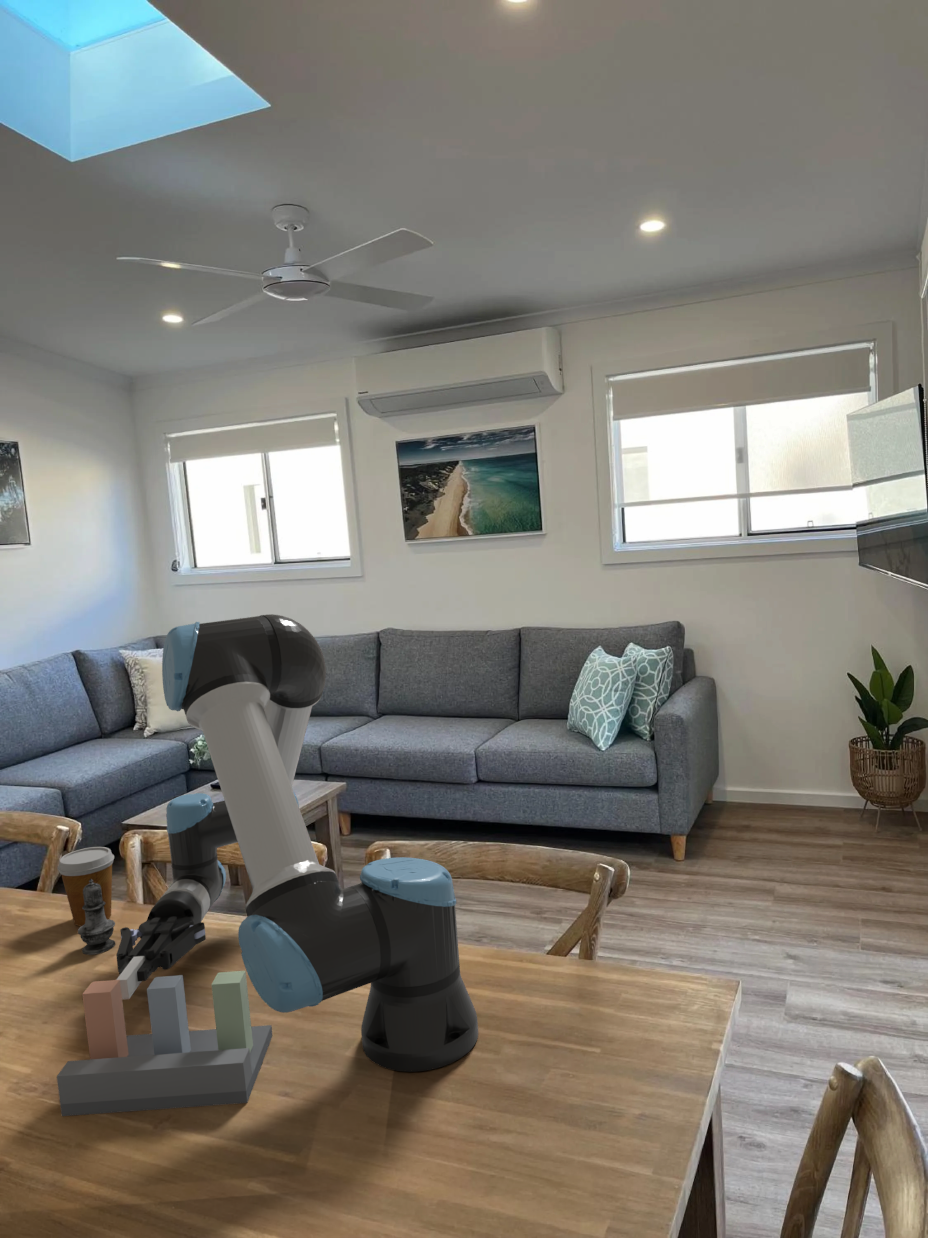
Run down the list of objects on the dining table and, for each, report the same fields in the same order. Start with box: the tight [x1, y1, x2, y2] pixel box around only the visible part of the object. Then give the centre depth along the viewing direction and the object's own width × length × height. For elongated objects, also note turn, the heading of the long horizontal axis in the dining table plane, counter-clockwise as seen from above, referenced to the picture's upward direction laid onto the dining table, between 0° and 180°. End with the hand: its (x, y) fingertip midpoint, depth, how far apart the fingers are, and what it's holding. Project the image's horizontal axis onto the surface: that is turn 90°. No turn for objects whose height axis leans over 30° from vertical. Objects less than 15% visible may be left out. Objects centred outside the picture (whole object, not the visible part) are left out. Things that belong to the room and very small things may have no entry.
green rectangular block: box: [211, 970, 253, 1052], centre depth 111 cm, size 4×3×10 cm
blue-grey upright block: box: [146, 974, 191, 1055], centre depth 111 cm, size 4×3×10 cm
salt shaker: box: [77, 879, 116, 956], centre depth 149 cm, size 6×6×12 cm
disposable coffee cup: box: [56, 846, 115, 927], centre depth 161 cm, size 10×10×12 cm
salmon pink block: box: [82, 979, 128, 1060], centre depth 111 cm, size 4×3×10 cm
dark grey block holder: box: [56, 1024, 274, 1117], centre depth 111 cm, size 22×14×5 cm, turn 90°
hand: (122, 989), depth 117 cm, fingers closed
